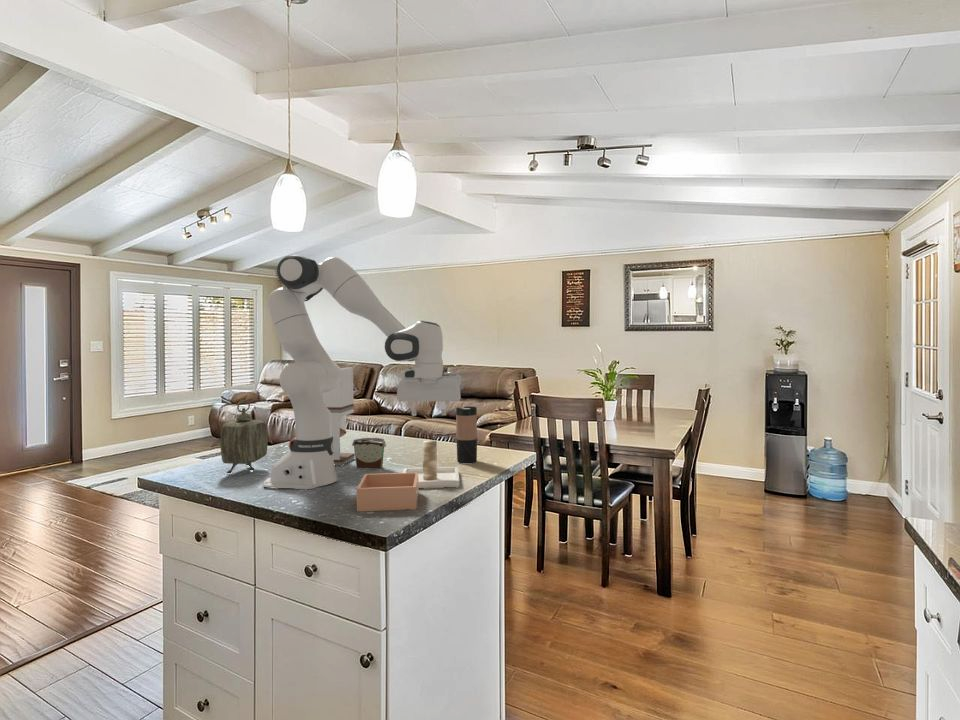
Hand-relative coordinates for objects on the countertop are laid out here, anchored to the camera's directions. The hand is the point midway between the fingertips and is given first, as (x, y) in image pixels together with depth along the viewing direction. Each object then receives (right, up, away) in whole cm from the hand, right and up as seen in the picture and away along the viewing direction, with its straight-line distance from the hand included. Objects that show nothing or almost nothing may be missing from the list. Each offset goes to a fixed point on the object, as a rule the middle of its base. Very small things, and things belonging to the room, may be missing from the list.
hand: (428, 415), depth 171 cm
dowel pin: (0, -20, +1) cm, 20 cm away
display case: (-38, -21, +29) cm, 52 cm away
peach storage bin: (-9, -22, -21) cm, 32 cm away
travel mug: (+12, -20, +27) cm, 35 cm away
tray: (0, -21, +1) cm, 21 cm away
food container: (-22, -21, +20) cm, 36 cm away
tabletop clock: (-65, -21, +15) cm, 70 cm away
